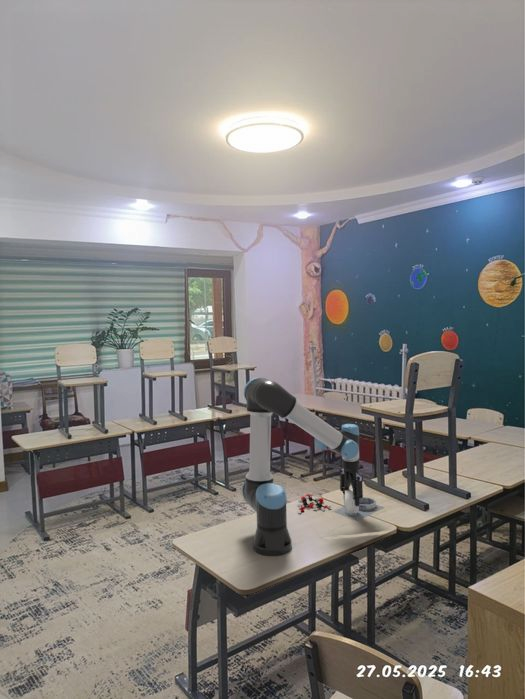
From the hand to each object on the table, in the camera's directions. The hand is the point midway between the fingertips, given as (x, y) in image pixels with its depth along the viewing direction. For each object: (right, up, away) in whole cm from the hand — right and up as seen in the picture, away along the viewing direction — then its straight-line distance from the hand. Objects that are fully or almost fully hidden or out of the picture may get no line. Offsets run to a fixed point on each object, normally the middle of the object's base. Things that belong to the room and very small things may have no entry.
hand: (351, 510), depth 219 cm
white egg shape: (0, -1, 0) cm, 1 cm away
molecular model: (-16, -3, +10) cm, 19 cm away
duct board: (+4, -2, +4) cm, 6 cm away
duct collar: (+7, -1, +7) cm, 10 cm away
